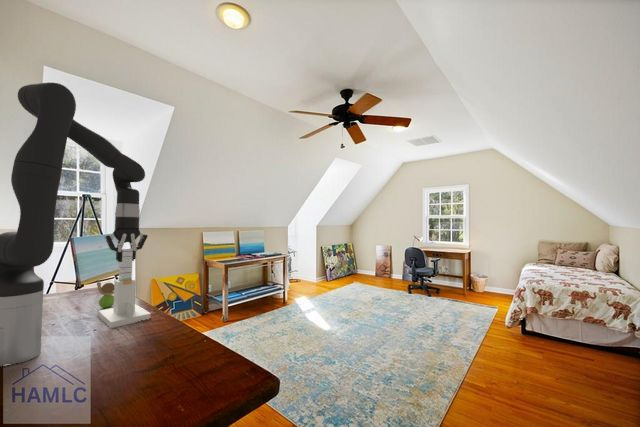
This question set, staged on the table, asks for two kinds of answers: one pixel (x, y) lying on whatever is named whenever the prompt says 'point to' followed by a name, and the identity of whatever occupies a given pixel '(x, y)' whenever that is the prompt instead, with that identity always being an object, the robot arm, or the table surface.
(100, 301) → the snail figurine
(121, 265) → the steel bar
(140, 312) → the grey stand
